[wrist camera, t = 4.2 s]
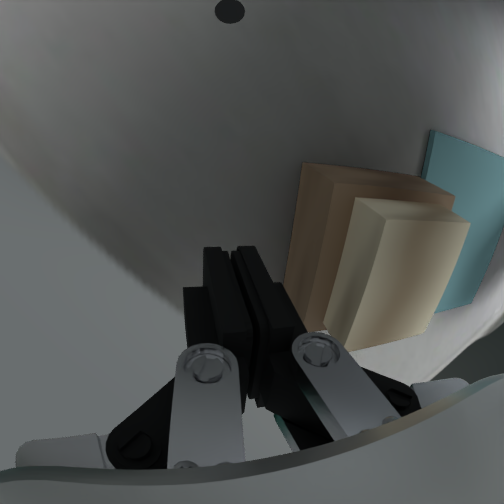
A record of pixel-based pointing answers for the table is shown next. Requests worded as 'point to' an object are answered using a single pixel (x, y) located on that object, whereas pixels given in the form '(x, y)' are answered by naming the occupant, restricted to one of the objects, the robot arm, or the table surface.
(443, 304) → the rubber mat
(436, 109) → the table surface
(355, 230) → the birch block
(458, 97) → the table surface
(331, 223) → the walnut block
